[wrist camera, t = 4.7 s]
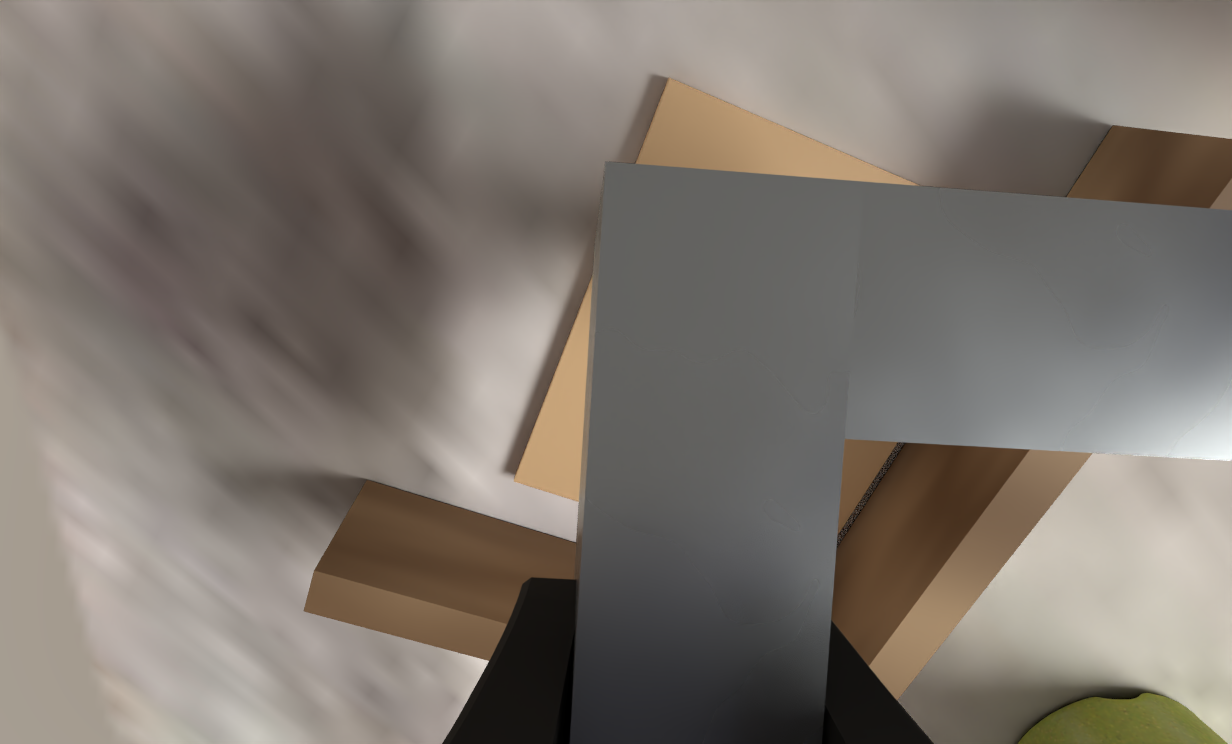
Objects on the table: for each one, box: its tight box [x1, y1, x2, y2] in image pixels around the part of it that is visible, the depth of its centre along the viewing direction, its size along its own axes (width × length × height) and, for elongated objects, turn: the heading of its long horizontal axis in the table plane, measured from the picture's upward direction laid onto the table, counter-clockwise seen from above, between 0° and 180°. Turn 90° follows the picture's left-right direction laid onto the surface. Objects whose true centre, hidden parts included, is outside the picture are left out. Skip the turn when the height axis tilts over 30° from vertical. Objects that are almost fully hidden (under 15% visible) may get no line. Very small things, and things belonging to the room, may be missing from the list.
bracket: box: [567, 162, 1232, 744], centre depth 9 cm, size 8×6×5 cm
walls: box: [304, 125, 1232, 700], centre depth 14 cm, size 15×14×3 cm
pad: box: [514, 78, 920, 536], centre depth 16 cm, size 10×8×1 cm
